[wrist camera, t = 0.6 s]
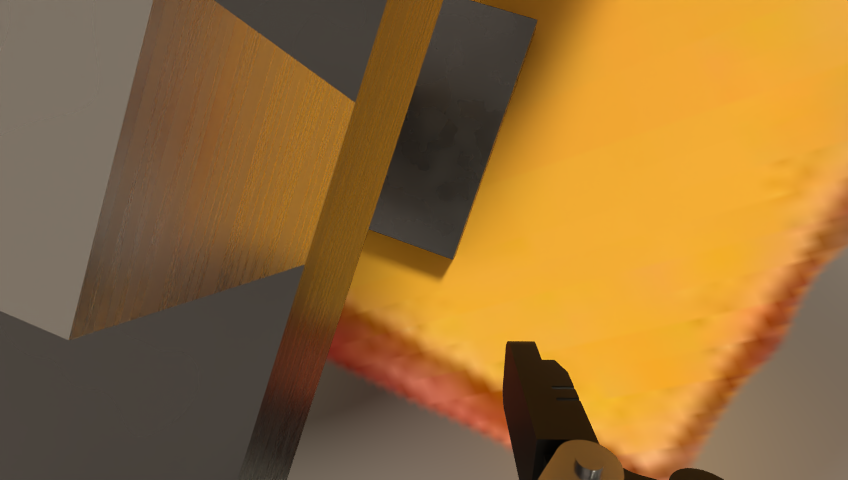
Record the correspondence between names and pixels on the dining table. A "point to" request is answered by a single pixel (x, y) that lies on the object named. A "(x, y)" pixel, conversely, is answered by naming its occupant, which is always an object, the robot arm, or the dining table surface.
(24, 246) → the stand
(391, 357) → the dining table surface
